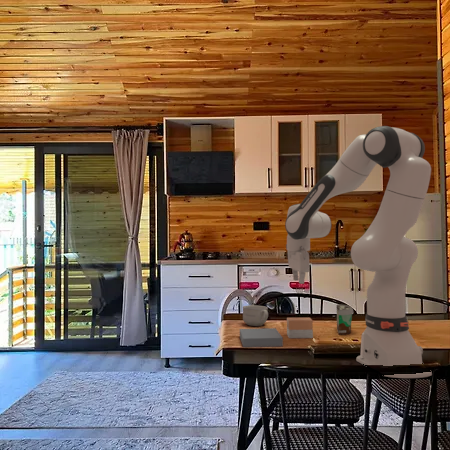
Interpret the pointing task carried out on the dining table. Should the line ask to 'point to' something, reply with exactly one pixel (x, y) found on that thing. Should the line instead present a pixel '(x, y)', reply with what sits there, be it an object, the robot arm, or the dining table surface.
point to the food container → (344, 319)
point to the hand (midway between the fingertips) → (298, 281)
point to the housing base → (299, 333)
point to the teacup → (255, 315)
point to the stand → (261, 337)
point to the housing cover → (299, 323)
